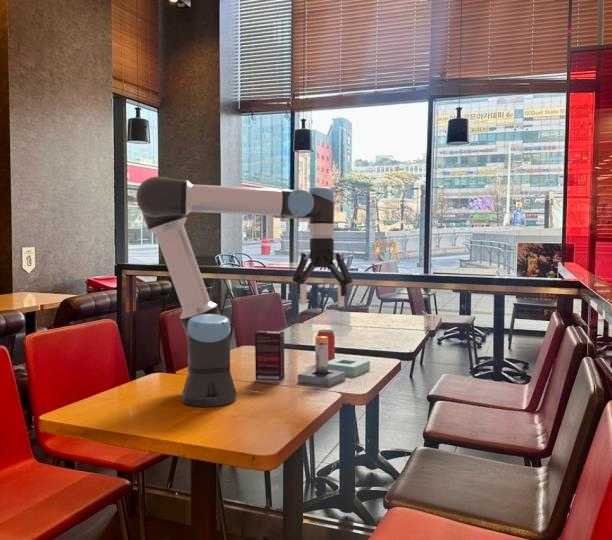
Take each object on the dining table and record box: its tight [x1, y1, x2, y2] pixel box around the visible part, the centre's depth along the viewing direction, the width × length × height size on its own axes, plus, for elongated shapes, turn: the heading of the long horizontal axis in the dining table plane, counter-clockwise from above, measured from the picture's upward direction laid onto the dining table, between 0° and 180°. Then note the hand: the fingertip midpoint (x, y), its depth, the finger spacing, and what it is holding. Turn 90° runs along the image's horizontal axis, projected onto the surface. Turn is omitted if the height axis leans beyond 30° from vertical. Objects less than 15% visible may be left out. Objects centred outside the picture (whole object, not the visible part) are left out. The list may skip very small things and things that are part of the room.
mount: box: [297, 367, 346, 388], centre depth 184 cm, size 11×11×3 cm
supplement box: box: [254, 330, 286, 384], centre depth 185 cm, size 9×5×16 cm, turn 76°
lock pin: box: [314, 335, 328, 376], centre depth 184 cm, size 4×4×14 cm
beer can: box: [316, 329, 336, 361], centre depth 213 cm, size 7×7×12 cm
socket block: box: [328, 356, 371, 378], centre depth 198 cm, size 12×12×4 cm
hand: (321, 305), depth 183 cm, fingers open, 13 cm apart
